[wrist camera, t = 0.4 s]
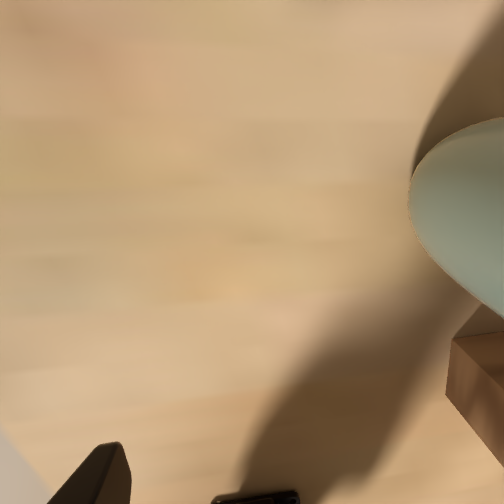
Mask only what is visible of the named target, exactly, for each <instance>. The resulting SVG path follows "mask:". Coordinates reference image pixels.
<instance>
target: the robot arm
mask: <svg viewBox="0 0 504 504" xmlns="http://www.w3.org/2000/svg"><path fill="white" fill-rule="evenodd" d="M131 484H132V478H131V471H130V468H129V465H128V462H127V459H126V455H125V452H124V449H123V446H122V444H121V443H120V442H111V443H105V444H100V445H98V446H97V447H96V448H95V449H94V450H93V451H92V452H91V453H90V454H89V455H88V457H87V458H86V459H85V460H84V461H83V462H82V464H81V465H80V466H79V467H78V468H77V469H76V470H75V472H74V473H73V474H72V475H71V476H70V477H69V479H68V480H67V481H66V482H65V483H64V484H63V485H62V487H61V488H60V489H59V490H58V491H57V492H56V494H55V495H54V496H53V497H52V498H51V499H50V500H49V502H48V503H47V504H130V495H131ZM218 504H300V499H299V495H298V493H297V492H295V491H291V492H285V493H278V494H272V495H266V496H260V497H254V498H248V499H242V500H236V501H230V502H224V503H218Z"/></svg>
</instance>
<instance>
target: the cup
mask: <svg viewBox="0 0 504 504" xmlns="http://www.w3.org/2000/svg"><path fill="white" fill-rule="evenodd" d="M408 211H409V218H410V221H411V224H412V227H413V230H414V233H415V235H416V237H417V239H418V240H419V242H420V244H421V245H422V247H423V248H424V250H425V251H426V253H427V254H428V255H429V256H430V257H431V258H432V259H433V260H434V261H435V263H436V264H437V265H438V266H439V267H440V268H441V269H442V270H443V271H444V272H445V273H446V274H447V275H449V276H450V277H451V278H452V279H453V280H454V281H455V282H456V283H458V284H459V285H460V286H461V287H462V288H464V289H465V290H466V291H467V292H469V293H470V294H471V295H472V296H474V297H475V298H476V299H478V300H479V301H480V302H482V303H483V304H484V305H486V306H487V307H488V308H490V309H491V310H492V311H494V312H495V313H496V314H498V315H499V316H500V317H502V318H503V319H504V117H498V118H493V119H489V120H485V121H482V122H479V123H476V124H472V125H469V126H467V127H465V128H463V129H461V130H459V131H457V132H455V133H453V134H451V135H449V136H447V137H446V138H444V139H443V140H441V141H440V142H439V143H437V144H436V145H435V146H434V147H433V148H432V149H431V150H430V151H429V152H428V153H427V154H426V155H425V156H424V157H423V158H422V160H421V161H420V163H419V164H418V166H417V167H416V169H415V171H414V174H413V176H412V178H411V182H410V186H409V191H408Z"/></svg>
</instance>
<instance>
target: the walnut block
mask: <svg viewBox="0 0 504 504" xmlns="http://www.w3.org/2000/svg"><path fill="white" fill-rule="evenodd" d="M445 395H446V396H447V397H448V399H449V400H450V401H451V402H452V404H453V405H454V406H455V407H456V409H457V410H458V411H459V412H460V414H461V415H462V416H463V417H464V419H465V420H466V421H467V422H468V424H469V425H470V426H471V427H472V429H473V430H474V431H475V432H476V434H477V435H478V436H479V437H480V439H481V440H482V441H483V442H484V444H485V445H486V446H487V447H488V449H489V450H490V451H491V452H492V454H493V455H494V456H495V457H496V459H497V460H498V461H499V462H500V463H501V465H502V466H503V467H504V331H502V332H495V333H488V334H482V335H475V336H468V337H461V338H454V339H452V342H451V350H450V359H449V368H448V377H447V385H446V394H445Z"/></svg>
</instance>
